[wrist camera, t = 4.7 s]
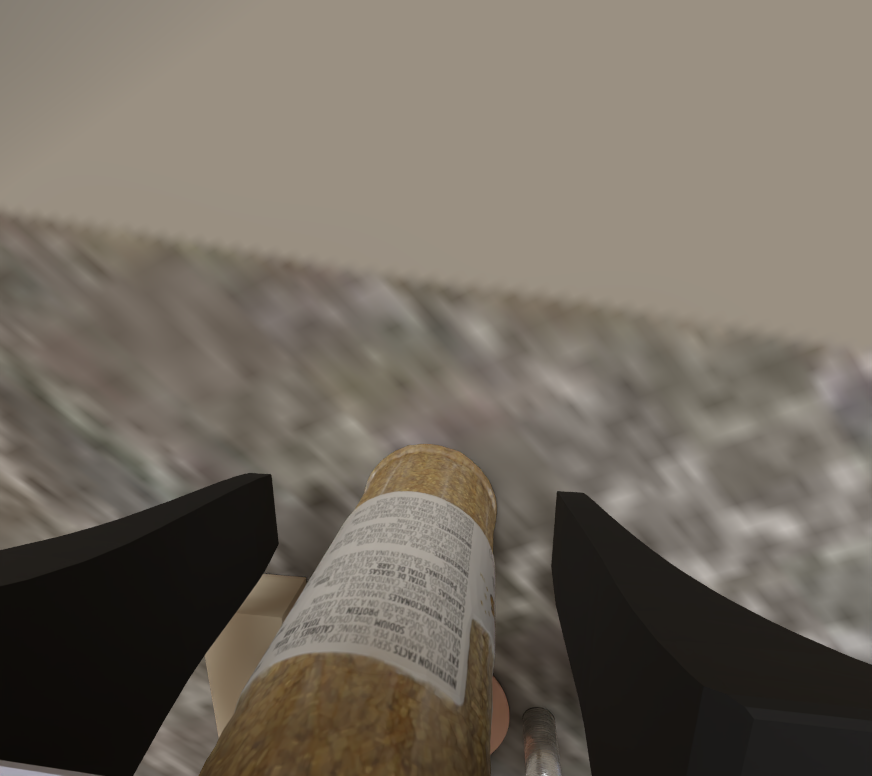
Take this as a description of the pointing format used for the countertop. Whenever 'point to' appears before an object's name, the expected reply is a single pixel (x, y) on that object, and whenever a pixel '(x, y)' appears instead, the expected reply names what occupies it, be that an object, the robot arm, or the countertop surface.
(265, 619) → the wooden bar with disc
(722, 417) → the countertop surface
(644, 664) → the robot arm
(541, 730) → the guide pins
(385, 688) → the sprinkles bottle
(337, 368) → the countertop surface
